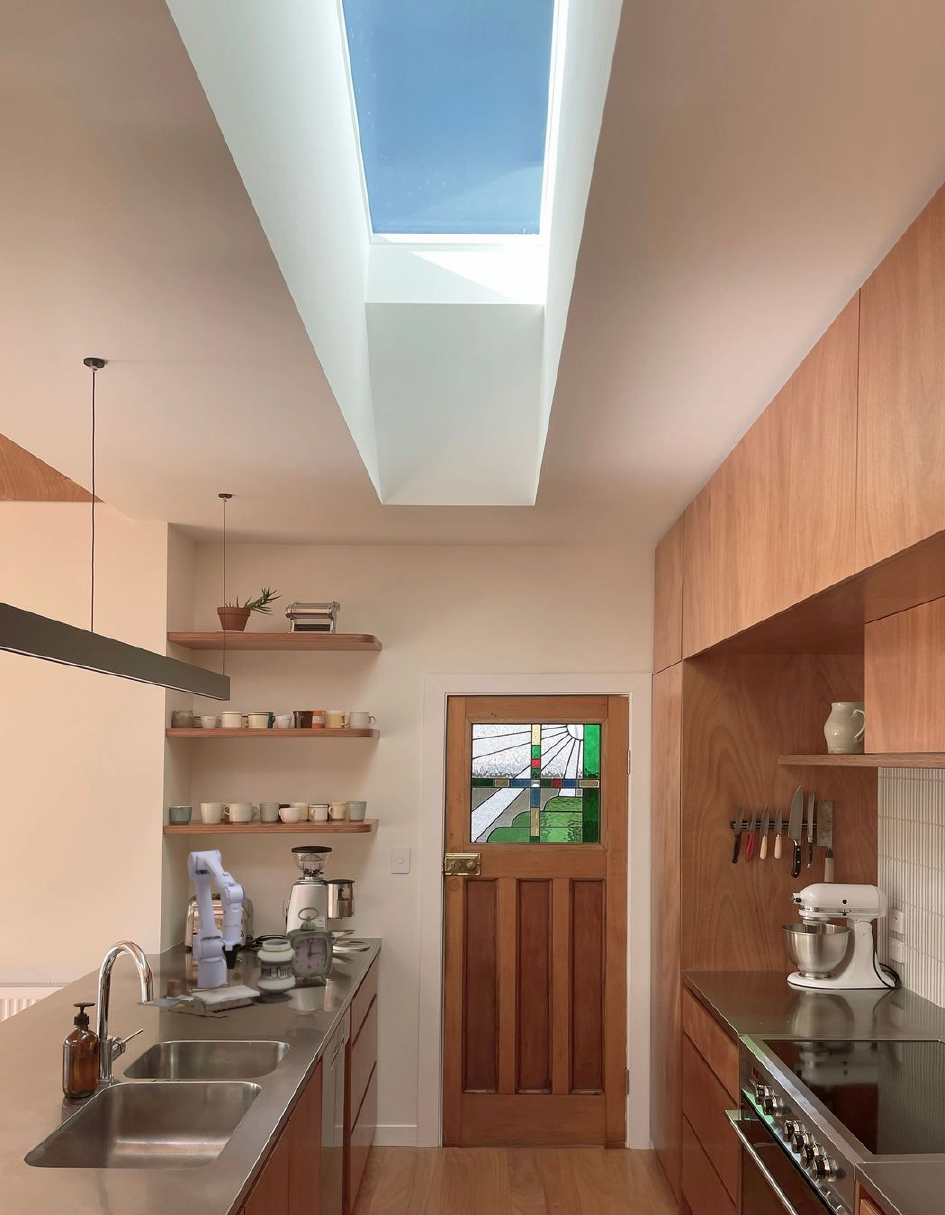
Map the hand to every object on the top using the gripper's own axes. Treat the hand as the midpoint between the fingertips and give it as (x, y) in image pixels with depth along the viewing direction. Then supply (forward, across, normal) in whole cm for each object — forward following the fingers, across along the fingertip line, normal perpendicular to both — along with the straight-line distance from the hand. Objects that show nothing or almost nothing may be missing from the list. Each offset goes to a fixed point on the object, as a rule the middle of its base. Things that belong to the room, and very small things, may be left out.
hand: (230, 968), depth 336 cm
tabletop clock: (+9, -14, +23) cm, 28 cm away
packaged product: (+6, +7, -3) cm, 10 cm away
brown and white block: (+9, 0, -15) cm, 17 cm away
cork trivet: (+9, +14, -7) cm, 18 cm away
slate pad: (+9, +5, -21) cm, 23 cm away
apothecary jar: (+9, +4, +14) cm, 18 cm away
